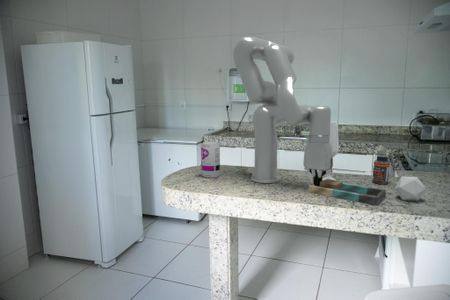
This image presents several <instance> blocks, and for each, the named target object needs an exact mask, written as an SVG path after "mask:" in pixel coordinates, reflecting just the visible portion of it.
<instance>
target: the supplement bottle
mask: <svg viewBox="0 0 450 300" xmlns="http://www.w3.org/2000/svg"><path fill="white" fill-rule="evenodd" d="M388 159H389V157H388V155H386V154H385V155H384V154H378V155H376V159H375V160H374V161H373V165H372V166H373V167H372V175H371V176H372V180H371V181H372V183H374V184H377V185H388V183H389V178H390V177H389V175H390V164H391V163H390V161H389V160H388Z"/></svg>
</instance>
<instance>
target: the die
mask: <svg viewBox="0 0 450 300" xmlns="http://www.w3.org/2000/svg"><path fill="white" fill-rule="evenodd" d="M394 190H395V191H396V193H397V195H398V196H399V197H400V199H401V200H402V201H417V202H419V201H420V199H421V198H422V197H423V196H422V195H423V194H424V193H425V191H426V190H427V189H426V187H425V185H424V184H423V183H422V182H421V180H420V179H419V178H418V177H417V176H400V178H399V180H398V182H397V184H396V186H395V187H394Z"/></svg>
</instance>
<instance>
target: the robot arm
mask: <svg viewBox="0 0 450 300" xmlns="http://www.w3.org/2000/svg"><path fill="white" fill-rule="evenodd" d="M232 52H233V53H232V57H233V62H234V65H235V68H236V70H237V72H238V74H239V78H240V79H241V83H242V86H243V88H244V91H245V93H246V96H247V98H248V101H249V102H250V103H252V104H255V105H260V106H258V107H257V108H256V109H255V110H254V111H253V114H252V125H253V131H254V167H248V169H247V170H246V171H247V173H249V174H252V175H251V176H250V180H251V181H252V182H255V183H260V184H273V183H279V182H281V176H280V175H278V146H279V145H278V141H279V140H278V133H277V127H280V126H281V127H282V125H284V124H287V125H289V126H291V127H292V126H293V127H298V126H304V125H309V127H308V128H309V129H308V131H309V132H308V135H307V134H306V135H305V139H306V140H307V142H306V144H305V147H304V154H303V167H304V170H305V171H307V172H309V173H310V174H311V177H313V180H312V184H313V186H318V187H320V182H321V181H322V179H323V177H325V175H328V174H329V173H331V174H332V173H333V165H334V157H333V152H332V145H331V143H330V123H331V122H332V121H331V118H332V117H331V116H332V111H331V107H330V106H326V105H315V106H312V105H307V104H303V105H301V104H300V105H299V104H298V102H297V100H296V97H295V94H294V85H295V83H296V81H297V78H298V77H297V74H296V73H295V71H294V68H293V66H292V64H293V62H294V60H295V59H294V58H295V54H294V52H293V50H292V49H291V48H290V47H289V46H286V45H283V44H279V43H275V42H273V41H270V40H267V39H264V38H259V37H254V36H243V37H241V38H239V39H238V40H237V42H236V43H235V44H234V48H233V51H232ZM254 60H260V61H262V62H265V64H266V67H267V68H268V70H269V73H270V76H271V77H272V80H273V81H274V82H272V81H269V80H265V79H264V78H263V76H262V73H261V71H260V68H259V67H258V65H257V64H256V62H255V61H254ZM261 104H262V105H261Z"/></svg>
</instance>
